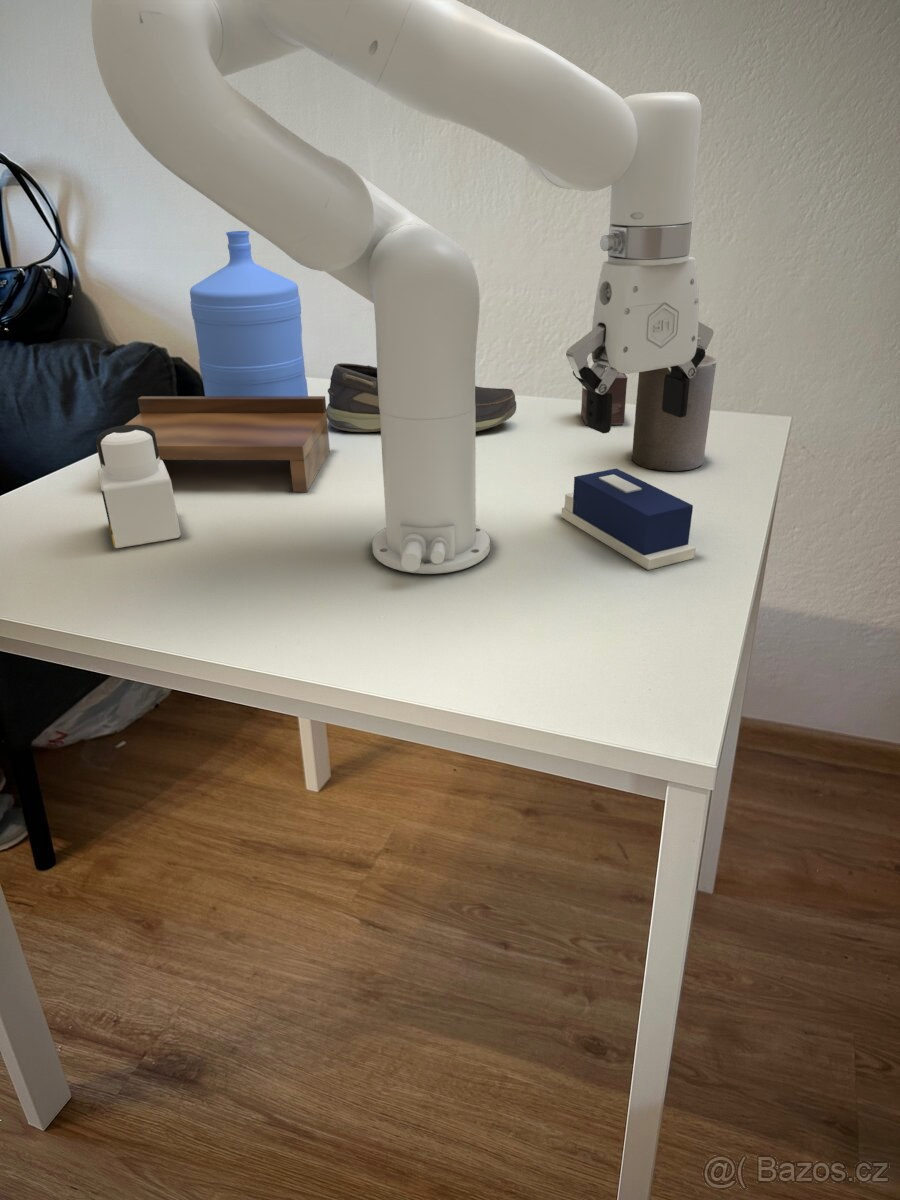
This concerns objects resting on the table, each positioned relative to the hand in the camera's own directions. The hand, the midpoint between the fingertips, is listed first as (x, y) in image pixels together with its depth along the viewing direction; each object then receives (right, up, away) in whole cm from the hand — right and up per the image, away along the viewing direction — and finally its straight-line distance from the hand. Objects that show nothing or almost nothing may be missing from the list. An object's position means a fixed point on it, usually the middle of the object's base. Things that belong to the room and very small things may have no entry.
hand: (636, 421), depth 89 cm
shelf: (-50, -1, +27) cm, 57 cm away
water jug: (-49, +8, +45) cm, 67 cm away
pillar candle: (+10, 0, +28) cm, 30 cm away
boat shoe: (-24, +8, +43) cm, 50 cm away
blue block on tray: (0, -12, +6) cm, 13 cm away
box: (+4, +9, +45) cm, 46 cm away
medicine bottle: (-54, -11, +9) cm, 56 cm away
